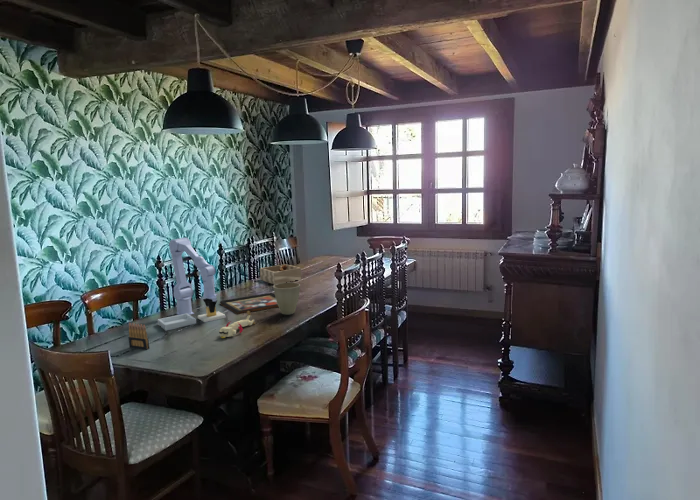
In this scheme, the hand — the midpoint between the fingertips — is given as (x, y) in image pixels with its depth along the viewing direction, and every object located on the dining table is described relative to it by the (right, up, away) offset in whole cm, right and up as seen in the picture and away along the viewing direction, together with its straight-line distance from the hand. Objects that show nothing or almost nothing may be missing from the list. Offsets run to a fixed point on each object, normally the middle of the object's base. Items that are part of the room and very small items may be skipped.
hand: (211, 311), depth 264 cm
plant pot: (+42, -2, +6) cm, 42 cm away
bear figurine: (+26, +11, +93) cm, 97 cm away
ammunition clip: (-21, -12, -42) cm, 48 cm away
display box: (+25, +12, +95) cm, 99 cm away
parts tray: (-16, -6, -8) cm, 19 cm away
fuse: (0, -3, 0) cm, 2 cm away
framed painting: (+19, 0, +28) cm, 34 cm away
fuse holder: (0, -4, +1) cm, 4 cm away
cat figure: (+20, -7, -23) cm, 31 cm away
